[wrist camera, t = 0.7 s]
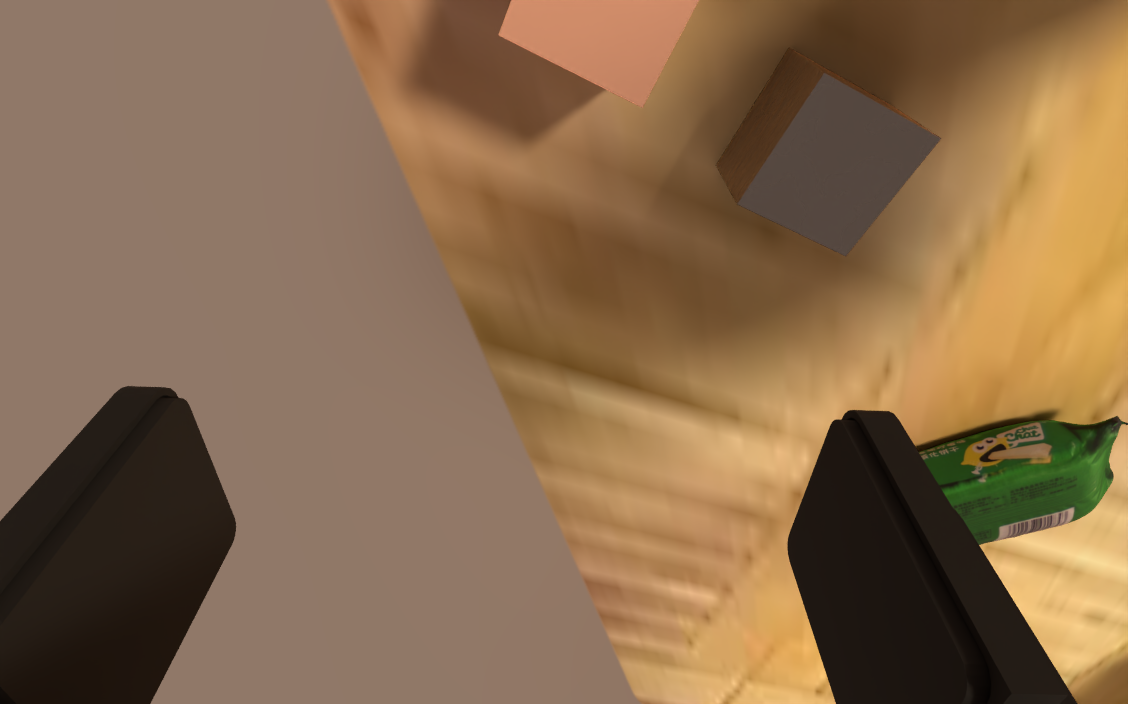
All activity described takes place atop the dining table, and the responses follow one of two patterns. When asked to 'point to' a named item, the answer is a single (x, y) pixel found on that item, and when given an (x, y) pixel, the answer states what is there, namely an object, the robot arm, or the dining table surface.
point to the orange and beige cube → (602, 38)
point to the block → (821, 154)
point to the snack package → (1025, 475)
